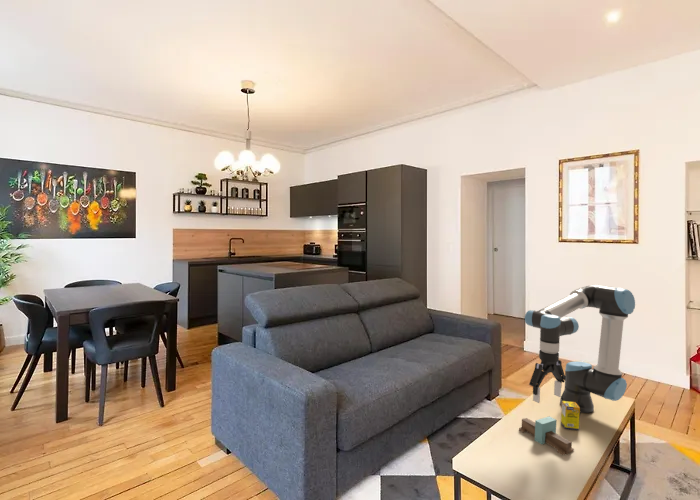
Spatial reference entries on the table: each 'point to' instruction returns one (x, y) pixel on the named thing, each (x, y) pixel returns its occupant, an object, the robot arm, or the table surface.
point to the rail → (549, 437)
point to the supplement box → (570, 415)
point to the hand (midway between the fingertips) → (547, 398)
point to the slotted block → (544, 428)
